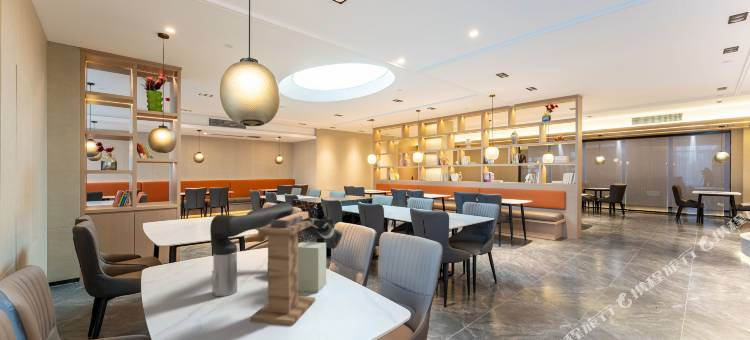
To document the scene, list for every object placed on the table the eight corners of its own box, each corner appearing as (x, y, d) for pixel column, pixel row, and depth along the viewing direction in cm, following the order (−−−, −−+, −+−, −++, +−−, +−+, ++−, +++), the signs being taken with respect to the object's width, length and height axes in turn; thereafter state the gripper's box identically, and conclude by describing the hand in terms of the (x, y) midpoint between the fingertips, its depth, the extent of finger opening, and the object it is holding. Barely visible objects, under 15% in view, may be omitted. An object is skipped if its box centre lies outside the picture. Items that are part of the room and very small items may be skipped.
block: (284, 226, 116) (284, 219, 116) (276, 226, 117) (276, 219, 117) (308, 217, 138) (308, 211, 138) (301, 217, 139) (301, 211, 139)
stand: (293, 325, 108) (292, 223, 108) (250, 321, 111) (249, 222, 111) (315, 301, 128) (314, 215, 128) (278, 298, 131) (277, 214, 131)
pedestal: (318, 292, 137) (318, 248, 137) (292, 290, 140) (292, 246, 139) (326, 284, 147) (326, 242, 147) (301, 282, 149) (301, 241, 149)
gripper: (337, 236, 159) (328, 225, 146) (310, 235, 162) (299, 224, 148) (339, 222, 163) (331, 210, 149) (313, 221, 166) (302, 209, 152)
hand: (315, 217), depth 149 cm, fingers open, 8 cm apart
